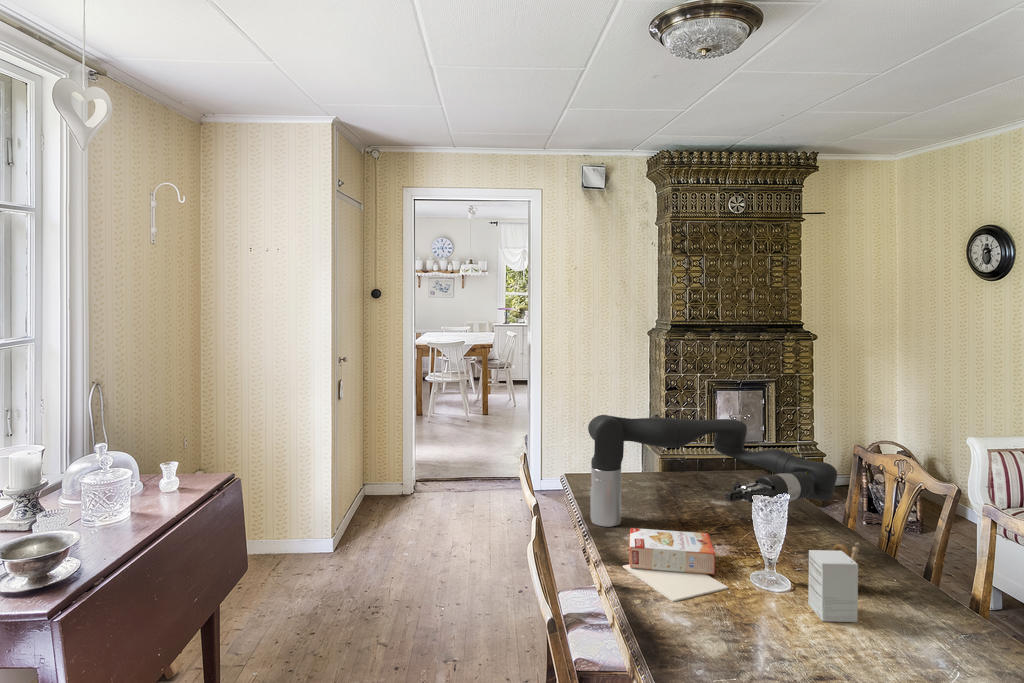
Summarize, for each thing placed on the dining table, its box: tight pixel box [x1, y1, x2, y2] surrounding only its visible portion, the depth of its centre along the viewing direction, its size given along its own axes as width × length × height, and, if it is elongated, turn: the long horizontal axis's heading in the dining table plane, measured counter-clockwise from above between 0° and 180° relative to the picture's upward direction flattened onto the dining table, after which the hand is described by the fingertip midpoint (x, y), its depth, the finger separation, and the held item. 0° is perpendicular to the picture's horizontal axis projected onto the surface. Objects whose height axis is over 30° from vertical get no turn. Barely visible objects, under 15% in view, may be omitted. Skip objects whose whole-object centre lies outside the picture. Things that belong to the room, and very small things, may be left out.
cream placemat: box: [622, 563, 729, 603], centre depth 144 cm, size 20×16×1 cm
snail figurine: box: [832, 542, 860, 563], centre depth 138 cm, size 5×6×12 cm
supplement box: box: [807, 549, 859, 623], centre depth 126 cm, size 7×7×13 cm
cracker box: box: [628, 527, 716, 575], centre depth 153 cm, size 14×6×21 cm
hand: (728, 496), depth 150 cm, fingers closed
